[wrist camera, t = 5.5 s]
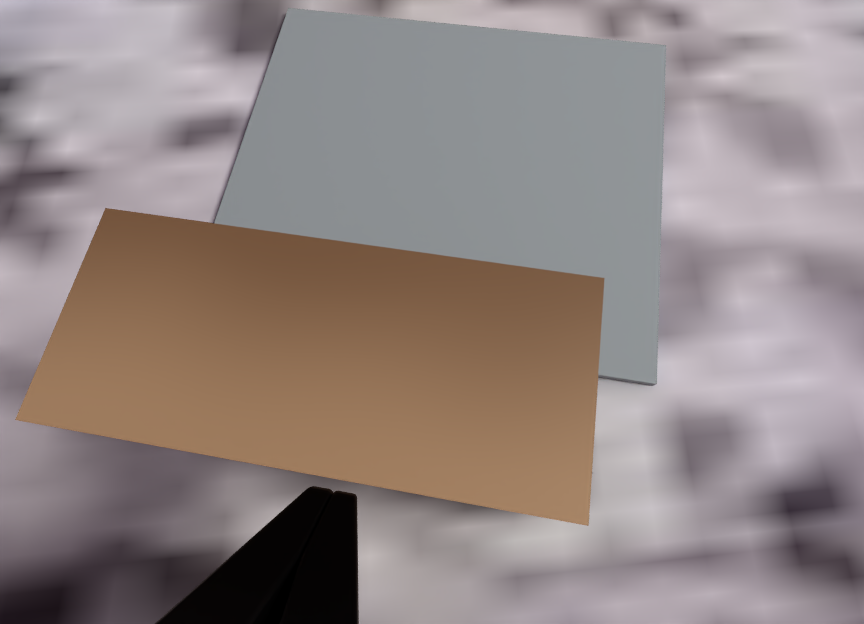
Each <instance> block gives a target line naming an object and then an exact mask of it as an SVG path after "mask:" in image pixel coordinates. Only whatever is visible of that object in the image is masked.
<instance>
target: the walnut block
mask: <svg viewBox="0 0 864 624" xmlns="http://www.w3.org/2000/svg"><path fill="white" fill-rule="evenodd" d="M604 279H605V278H601V277H594V276H587V275H580V274H573V273H565V272H558V271H551V270H544V269H537V268H530V267H523V266H515V265H508V264H501V263H494V262H487V261H480V260H472V259H465V258H458V257H451V256H444V255H437V254H430V253H422V252H415V251H408V250H401V249H394V248H387V247H380V246H372V245H365V244H358V243H351V242H344V241H337V240H330V239H322V238H315V237H308V236H301V235H294V234H287V233H280V232H272V231H265V230H258V229H251V228H244V227H237V226H230V225H222V224H215V223H208V222H201V221H194V220H187V219H180V218H172V217H165V216H158V215H151V214H144V213H137V212H130V211H122V210H115V209H108V208H105V211H104V213H103V215H102V218H101V220H100V222H99V225H98V227H97V230H96V232H95V234H94V237H93V239H92V241H91V244H90V246H89V248H88V251H87V253H86V255H85V258H84V260H83V262H82V265H81V267H80V269H79V272H78V274H77V276H76V279H75V281H74V283H73V286H72V288H71V290H70V293H69V295H68V297H67V300H66V302H65V305H64V307H63V309H62V312H61V314H60V316H59V319H58V321H57V323H56V326H55V328H54V330H53V333H52V335H51V337H50V340H49V342H48V344H47V347H46V349H45V351H44V354H43V356H42V358H41V361H40V363H39V365H38V368H37V370H36V372H35V375H34V377H33V380H32V382H31V384H30V387H29V389H28V391H27V394H26V396H25V398H24V401H23V403H22V405H21V408H20V410H19V412H18V415H17V417H16V419H15V420H19V421H24V422H30V423H35V424H41V425H46V426H51V427H57V428H62V429H68V430H73V431H79V432H84V433H89V434H95V435H100V436H106V437H111V438H116V439H122V440H127V441H133V442H138V443H143V444H149V445H154V446H160V447H165V448H171V449H176V450H181V451H187V452H192V453H198V454H203V455H208V456H214V457H219V458H225V459H230V460H235V461H241V462H246V463H252V464H257V465H263V466H268V467H273V468H279V469H284V470H290V471H295V472H300V473H306V474H311V475H317V476H322V477H327V478H333V479H338V480H344V481H349V482H355V483H360V484H365V485H371V486H376V487H382V488H387V489H392V490H398V491H403V492H409V493H414V494H419V495H425V496H430V497H436V498H441V499H447V500H452V501H457V502H463V503H468V504H474V505H479V506H484V507H490V508H495V509H501V510H506V511H511V512H517V513H522V514H528V515H533V516H539V517H544V518H549V519H555V520H560V521H566V522H571V523H576V524H582V525H587V526H588V524H589V508H590V493H591V478H592V463H593V447H594V432H595V417H596V402H597V386H598V371H599V356H600V340H601V325H602V310H603V295H604Z"/></svg>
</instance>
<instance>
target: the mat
mask: <svg viewBox="0 0 864 624" xmlns="http://www.w3.org/2000/svg"><path fill="white" fill-rule="evenodd" d="M665 68H666V45H659V44H649V43H639V42H629V41H619V40H609V39H598V38H588V37H578V36H568V35H558V34H548V33H538V32H527V31H517V30H507V29H497V28H487V27H477V26H467V25H456V24H446V23H436V22H426V21H416V20H406V19H396V18H385V17H375V16H365V15H355V14H345V13H335V12H324V11H314V10H304V9H294V8H288V11H287V13H286V16H285V19H284V22H283V25H282V28H281V31H280V34H279V37H278V40H277V42H276V45H275V48H274V51H273V54H272V57H271V60H270V63H269V66H268V68H267V71H266V74H265V77H264V80H263V83H262V86H261V89H260V92H259V95H258V97H257V100H256V103H255V106H254V109H253V112H252V115H251V118H250V121H249V124H248V126H247V129H246V132H245V135H244V138H243V141H242V144H241V147H240V150H239V152H238V155H237V158H236V161H235V164H234V167H233V170H232V173H231V176H230V179H229V181H228V184H227V187H226V190H225V193H224V196H223V199H222V202H221V205H220V207H219V210H218V213H217V216H216V219H215V222H214V223H215V224H222V225H230V226H237V227H244V228H251V229H258V230H265V231H272V232H280V233H287V234H294V235H301V236H308V237H315V238H322V239H330V240H337V241H344V242H351V243H358V244H365V245H372V246H380V247H387V248H394V249H401V250H408V251H415V252H422V253H430V254H437V255H444V256H451V257H458V258H465V259H472V260H480V261H487V262H494V263H501V264H508V265H515V266H523V267H530V268H537V269H544V270H551V271H558V272H565V273H573V274H580V275H587V276H594V277H601V278H605V279H604V295H603V310H602V325H601V340H600V356H599V371H598V377H602V378H608V379H615V380H621V381H627V382H634V383H640V384H646V385H655V384H657V356H658V320H659V284H660V248H661V212H662V176H663V140H664V104H665Z"/></svg>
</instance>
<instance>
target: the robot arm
mask: <svg viewBox="0 0 864 624" xmlns="http://www.w3.org/2000/svg"><path fill="white" fill-rule="evenodd" d="M155 624H359V610H358V535H357V496H356V495H355V494H353V493H348V492H342V491H335V492H334V493H333V491H332V490H330V489H326V488H321V487H315V486H312V487H309V488H308V489H306V490H305V491H304V492H303V493H302V494H301V495H300V496H298V497H297V498H296V499H295V500H294V501H293V502H292V503H291V504H289V505H288V506H287V507H286V508H285V509H284V510H283V511H282V512H280V513H279V514H278V515H277V516H276V517H275V518H274V519H273V520H271V521H270V522H269V523H268V524H267V525H266V526H265V527H263V528H262V529H261V530H260V531H259V532H258V533H257V534H256V535H254V536H253V537H252V538H251V539H250V540H249V541H248V542H247V543H245V544H244V545H243V546H242V547H241V548H240V549H239V550H238V551H236V552H235V553H234V554H233V555H232V556H231V557H230V558H229V559H227V560H226V561H225V562H224V563H223V564H222V565H221V566H220V567H218V568H217V569H216V570H215V571H214V572H213V573H212V574H210V575H209V576H208V577H207V578H206V579H205V580H204V581H203V582H201V583H200V584H199V585H198V586H197V587H196V588H195V589H194V590H192V591H191V592H190V593H189V594H188V595H187V596H186V597H185V598H183V599H182V600H181V601H180V602H179V603H178V604H177V605H176V606H174V607H173V608H172V609H171V610H170V611H169V612H168V613H166V614H165V615H164V616H163V617H162V618H161V619H160V620H159V621H157V622H156V623H155Z"/></svg>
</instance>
